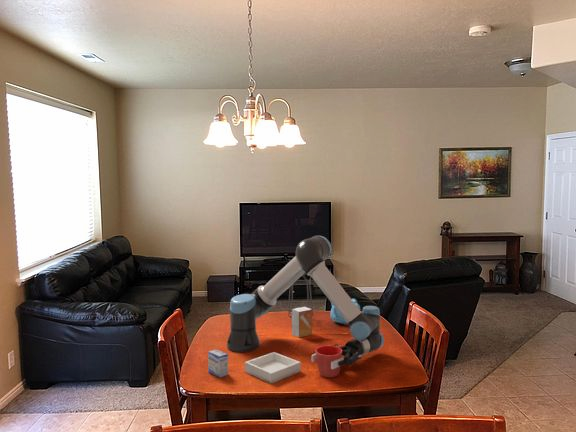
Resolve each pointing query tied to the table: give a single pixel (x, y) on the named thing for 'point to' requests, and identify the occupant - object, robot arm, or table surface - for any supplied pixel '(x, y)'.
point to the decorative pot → (337, 316)
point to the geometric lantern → (307, 293)
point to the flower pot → (328, 360)
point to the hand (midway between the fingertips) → (321, 362)
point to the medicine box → (218, 363)
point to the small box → (302, 321)
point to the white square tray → (272, 367)
